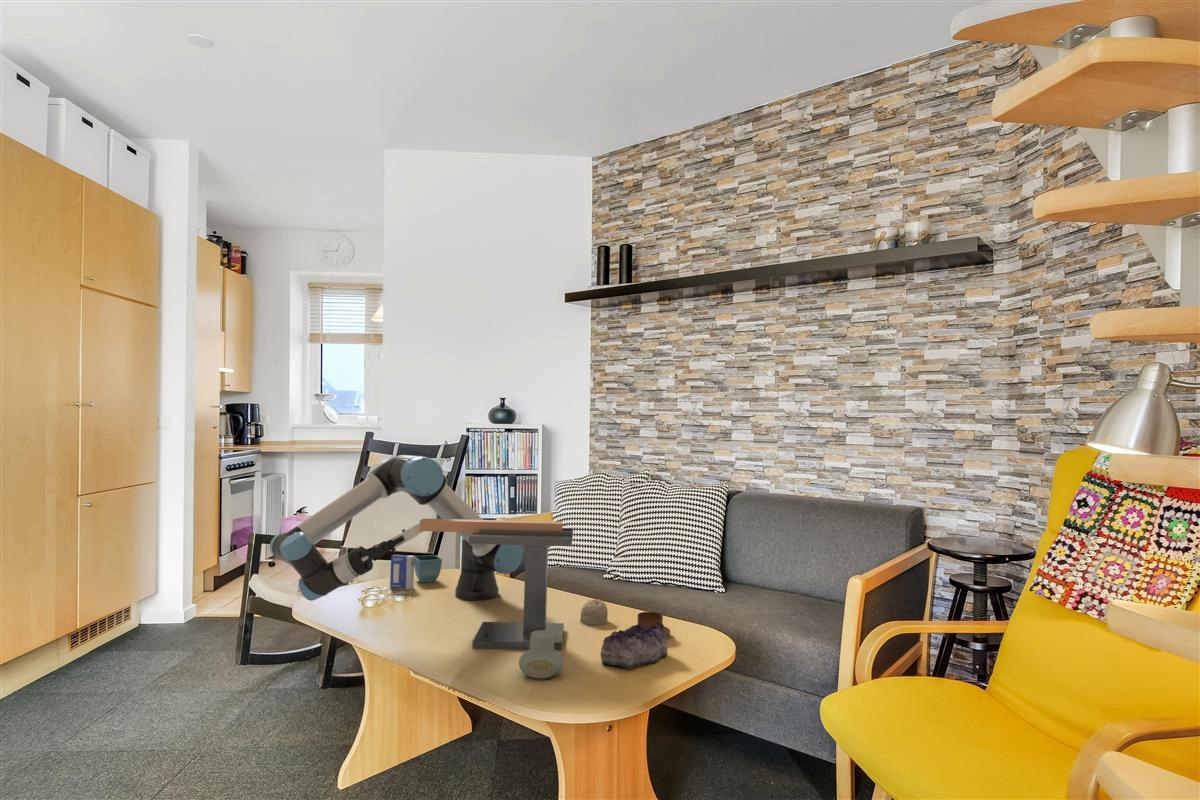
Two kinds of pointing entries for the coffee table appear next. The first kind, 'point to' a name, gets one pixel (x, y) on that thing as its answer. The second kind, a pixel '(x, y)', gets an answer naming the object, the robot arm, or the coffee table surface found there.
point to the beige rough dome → (594, 613)
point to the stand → (534, 590)
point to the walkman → (402, 571)
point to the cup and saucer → (651, 620)
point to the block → (486, 525)
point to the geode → (634, 646)
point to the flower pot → (427, 568)
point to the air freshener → (541, 656)
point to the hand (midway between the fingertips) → (421, 527)
